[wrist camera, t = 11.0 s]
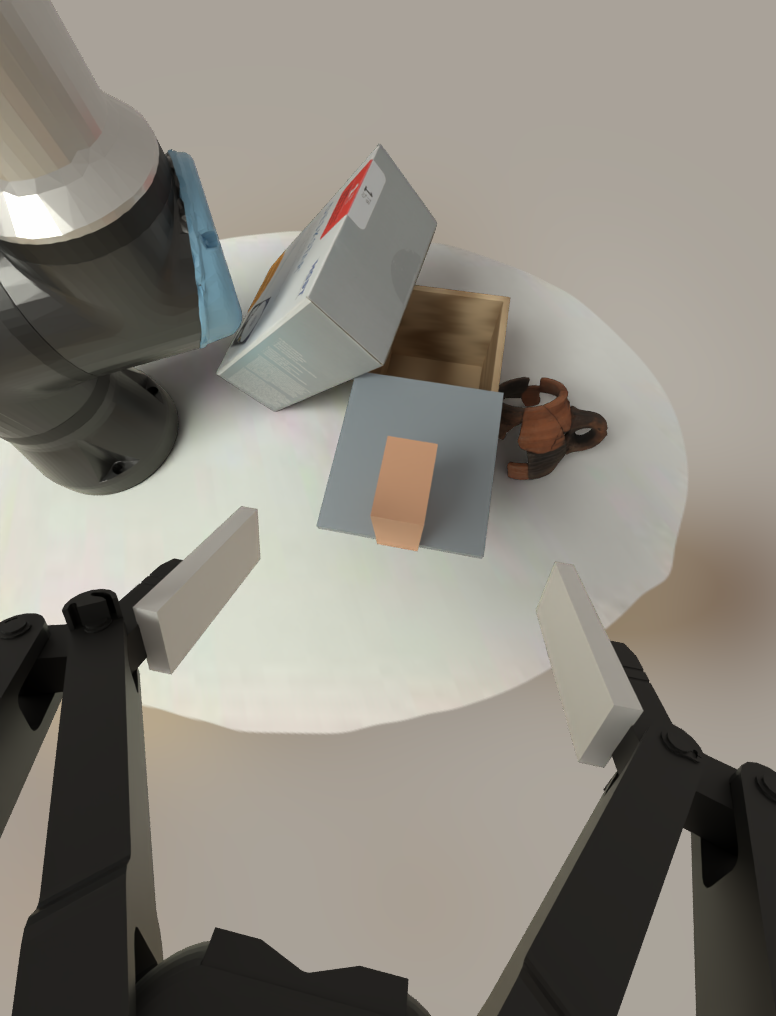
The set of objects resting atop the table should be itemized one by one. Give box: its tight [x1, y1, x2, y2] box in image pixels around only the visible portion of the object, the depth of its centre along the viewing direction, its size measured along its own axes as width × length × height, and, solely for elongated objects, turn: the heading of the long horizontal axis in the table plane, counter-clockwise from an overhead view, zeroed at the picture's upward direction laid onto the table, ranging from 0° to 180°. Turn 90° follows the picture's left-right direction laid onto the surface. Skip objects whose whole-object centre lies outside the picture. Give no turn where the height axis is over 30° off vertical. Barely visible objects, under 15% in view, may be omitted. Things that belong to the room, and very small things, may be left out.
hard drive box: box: [217, 144, 437, 412], centre depth 37 cm, size 16×8×20 cm
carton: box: [368, 285, 510, 392], centre depth 39 cm, size 12×14×10 cm
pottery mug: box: [498, 377, 608, 480], centre depth 40 cm, size 12×9×8 cm
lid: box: [317, 372, 504, 558], centre depth 27 cm, size 13×14×8 cm
